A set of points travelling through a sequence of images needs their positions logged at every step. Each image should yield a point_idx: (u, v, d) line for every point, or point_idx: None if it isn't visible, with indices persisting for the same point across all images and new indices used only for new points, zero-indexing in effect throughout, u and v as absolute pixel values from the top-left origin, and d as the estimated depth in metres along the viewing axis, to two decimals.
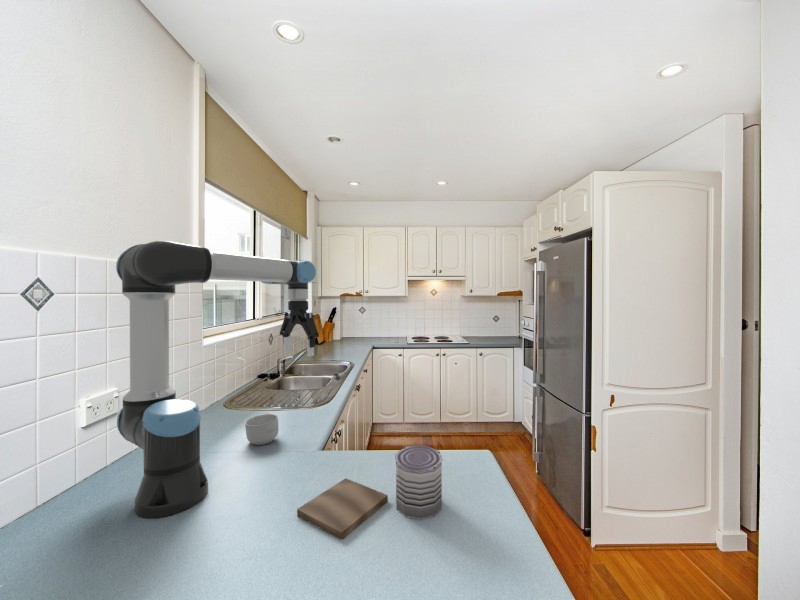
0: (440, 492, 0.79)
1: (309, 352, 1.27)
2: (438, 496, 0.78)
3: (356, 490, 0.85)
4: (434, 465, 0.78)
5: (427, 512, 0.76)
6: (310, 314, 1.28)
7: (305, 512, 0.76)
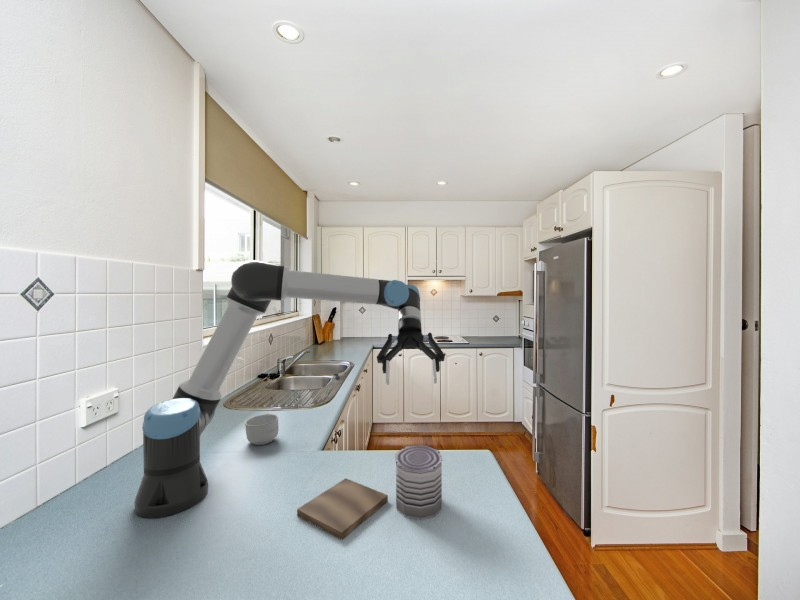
0: (440, 492, 0.79)
1: None
2: (438, 496, 0.78)
3: (356, 490, 0.85)
4: (434, 465, 0.78)
5: (427, 512, 0.76)
6: (431, 336, 1.06)
7: (305, 512, 0.76)
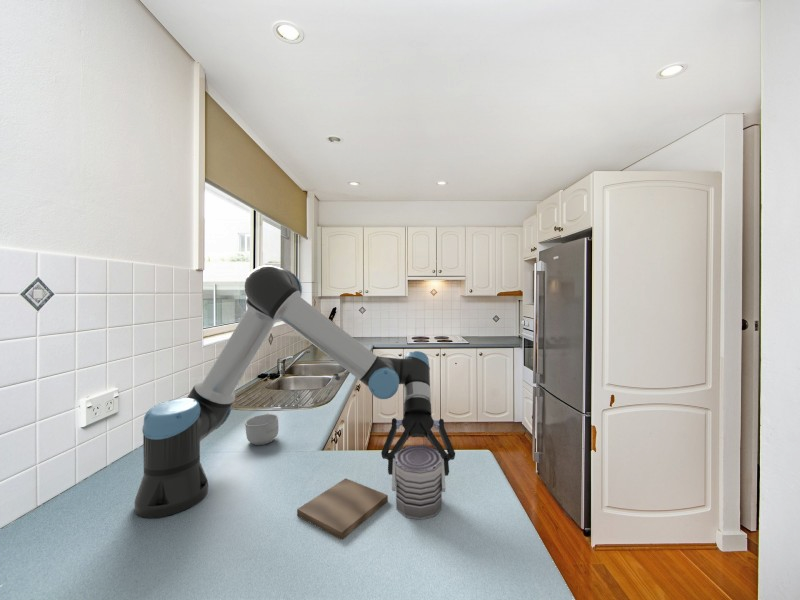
0: (440, 492, 0.79)
1: (444, 482, 0.79)
2: (438, 496, 0.78)
3: (356, 490, 0.85)
4: (434, 465, 0.78)
5: (427, 512, 0.76)
6: (443, 423, 0.89)
7: (305, 512, 0.76)
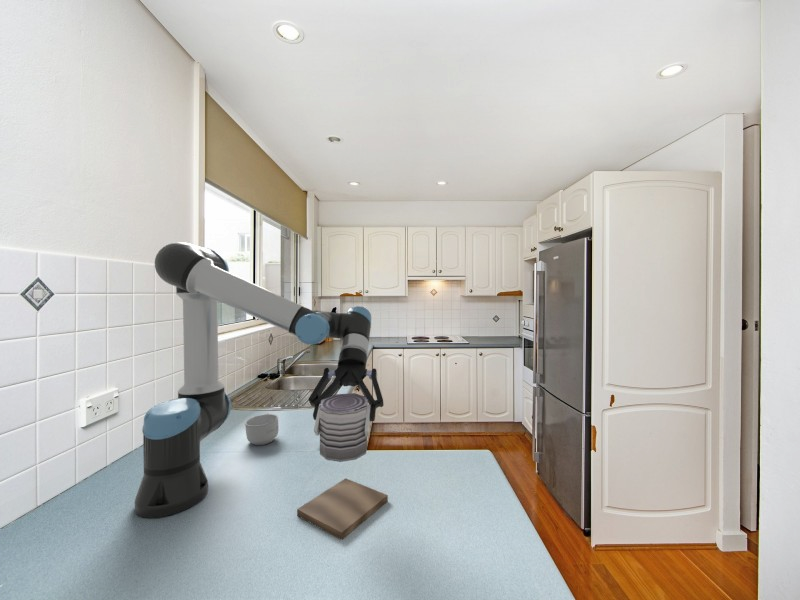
0: (364, 436, 0.78)
1: (368, 426, 0.77)
2: (361, 440, 0.77)
3: (356, 490, 0.85)
4: (357, 408, 0.77)
5: (348, 455, 0.75)
6: (376, 373, 0.88)
7: (305, 512, 0.76)
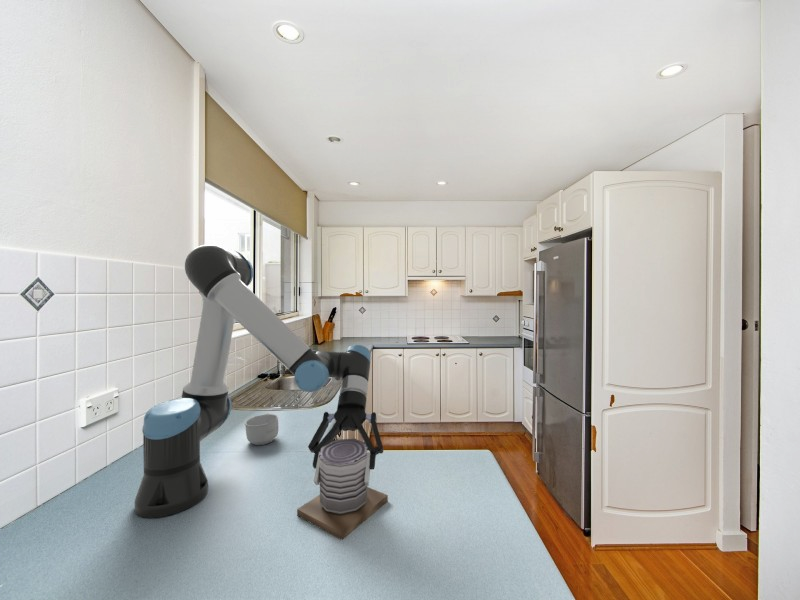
0: (364, 486, 0.78)
1: (368, 475, 0.78)
2: (361, 490, 0.77)
3: None
4: (356, 458, 0.77)
5: (348, 506, 0.75)
6: (376, 417, 0.88)
7: (305, 512, 0.76)
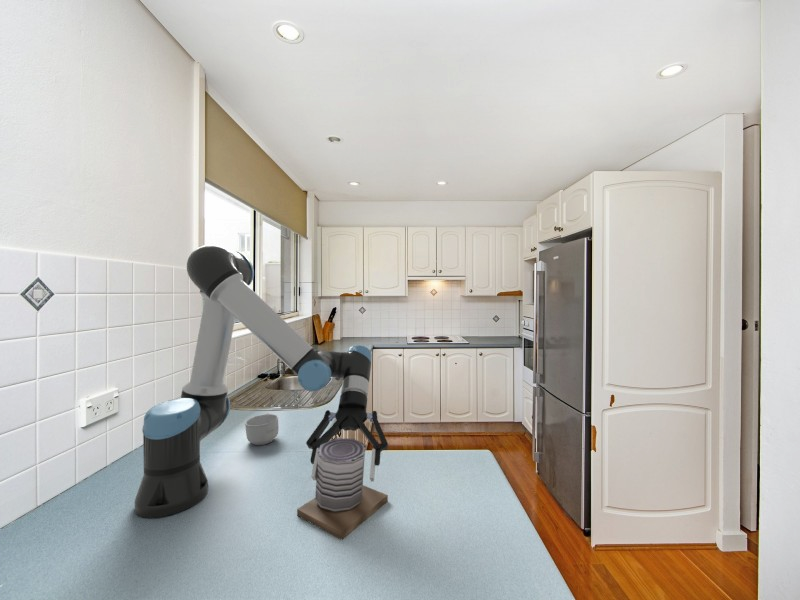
0: (359, 486, 0.79)
1: (373, 471, 0.79)
2: (356, 490, 0.78)
3: None
4: (354, 457, 0.78)
5: (342, 505, 0.76)
6: None
7: (305, 512, 0.76)
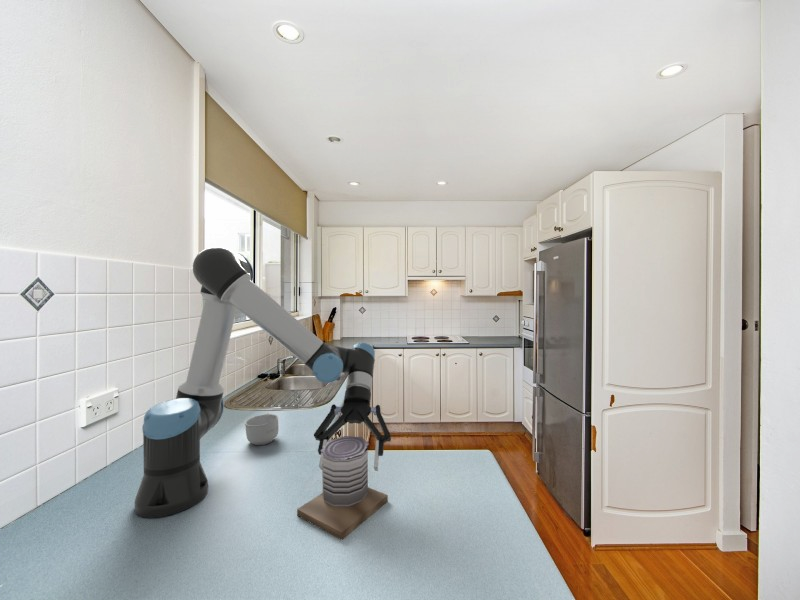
0: (359, 484, 0.80)
1: (377, 461, 0.84)
2: (355, 488, 0.79)
3: None
4: (350, 456, 0.79)
5: (341, 501, 0.78)
6: (380, 409, 0.94)
7: (305, 512, 0.76)
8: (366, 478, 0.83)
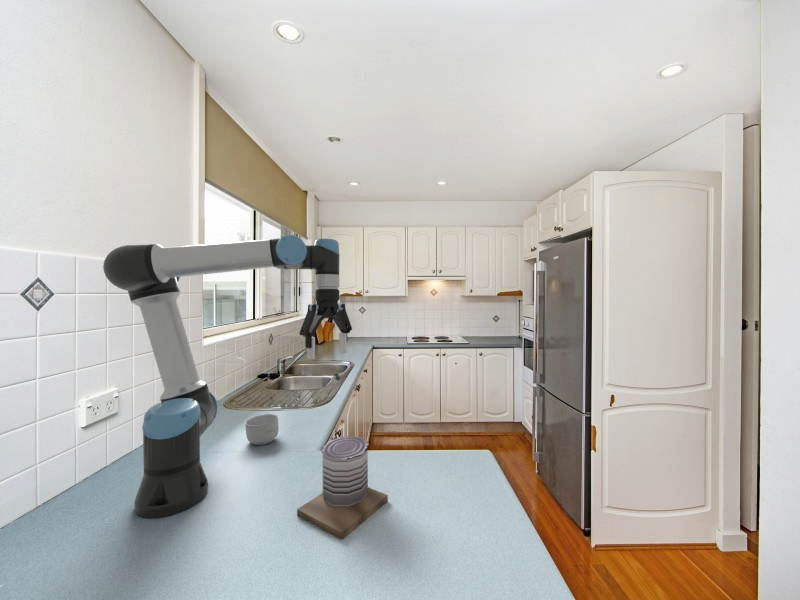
0: (359, 484, 0.80)
1: None
2: (355, 488, 0.79)
3: None
4: (350, 456, 0.79)
5: (341, 501, 0.78)
6: None
7: (305, 512, 0.76)
8: (366, 478, 0.83)
